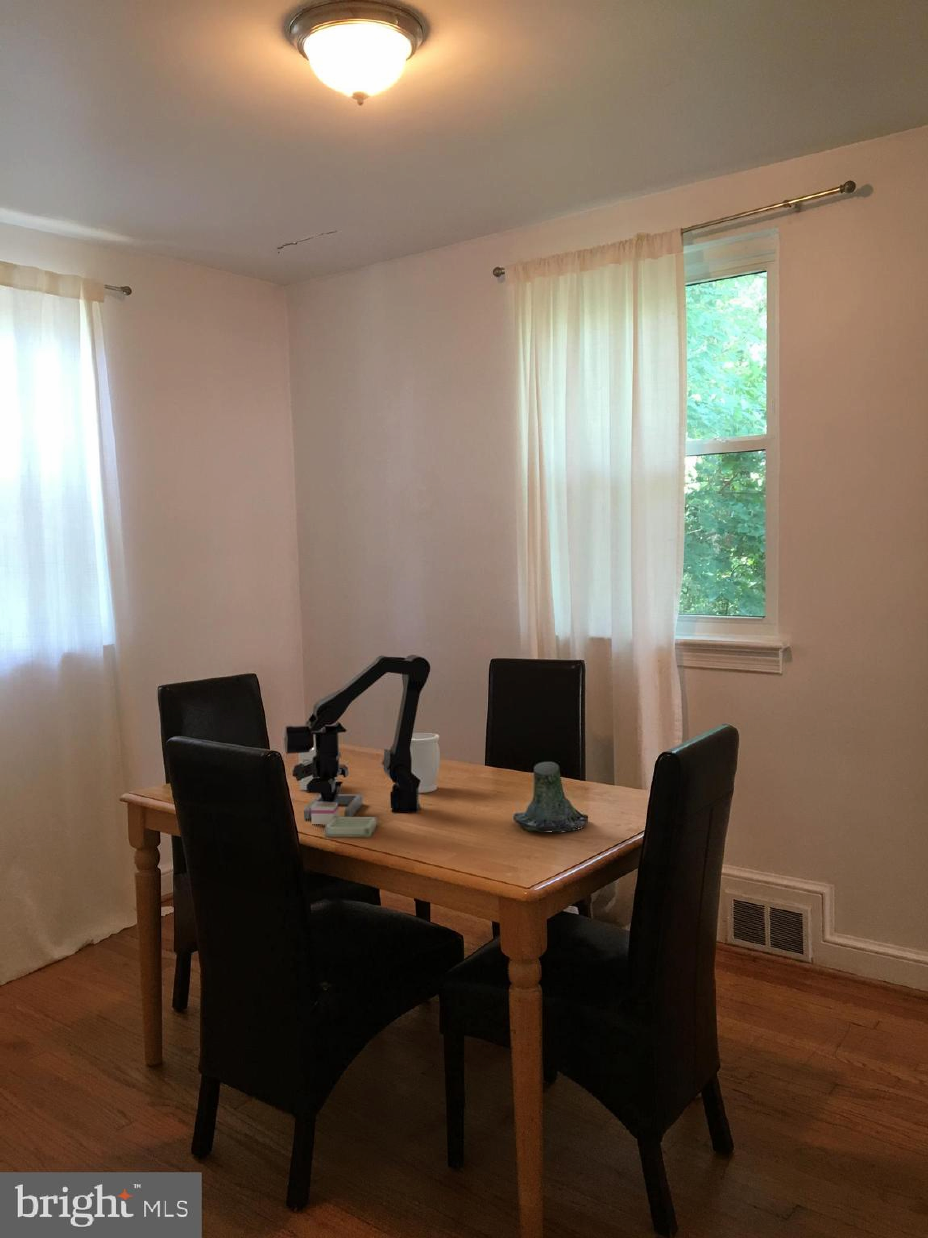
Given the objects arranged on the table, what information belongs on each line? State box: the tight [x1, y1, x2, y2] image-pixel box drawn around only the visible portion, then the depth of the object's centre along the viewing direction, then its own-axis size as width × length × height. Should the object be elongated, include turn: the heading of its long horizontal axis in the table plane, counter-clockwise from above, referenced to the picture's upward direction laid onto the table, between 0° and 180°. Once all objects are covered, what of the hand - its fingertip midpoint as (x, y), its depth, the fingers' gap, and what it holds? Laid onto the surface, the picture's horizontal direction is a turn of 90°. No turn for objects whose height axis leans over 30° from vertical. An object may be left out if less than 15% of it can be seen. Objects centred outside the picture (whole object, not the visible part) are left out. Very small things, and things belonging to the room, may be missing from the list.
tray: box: [323, 816, 378, 838], centre depth 231 cm, size 10×10×2 cm
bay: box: [303, 793, 363, 821], centre depth 247 cm, size 11×15×2 cm
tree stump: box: [512, 761, 589, 832], centre depth 231 cm, size 18×20×18 cm
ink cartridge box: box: [298, 737, 319, 791], centre depth 273 cm, size 9×5×15 cm, turn 168°
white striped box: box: [310, 802, 339, 826], centre depth 238 cm, size 6×4×4 cm
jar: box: [410, 732, 441, 794], centre depth 268 cm, size 11×10×15 cm
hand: (329, 812), depth 243 cm, fingers closed
